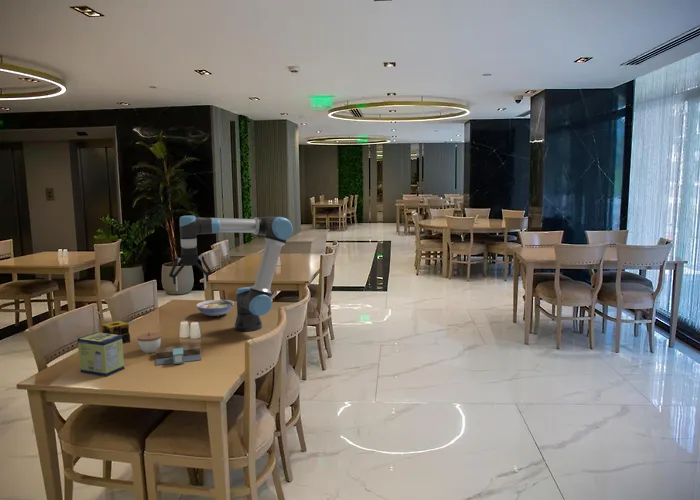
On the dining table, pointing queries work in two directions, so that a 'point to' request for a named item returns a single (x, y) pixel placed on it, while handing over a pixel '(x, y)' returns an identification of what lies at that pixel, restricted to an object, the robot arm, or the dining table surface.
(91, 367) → the protein box
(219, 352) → the dining table surface
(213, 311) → the ramen bowl
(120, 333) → the black yellow box
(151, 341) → the lidded jar
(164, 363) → the mat
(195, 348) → the ledge
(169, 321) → the dining table surface
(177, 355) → the block
